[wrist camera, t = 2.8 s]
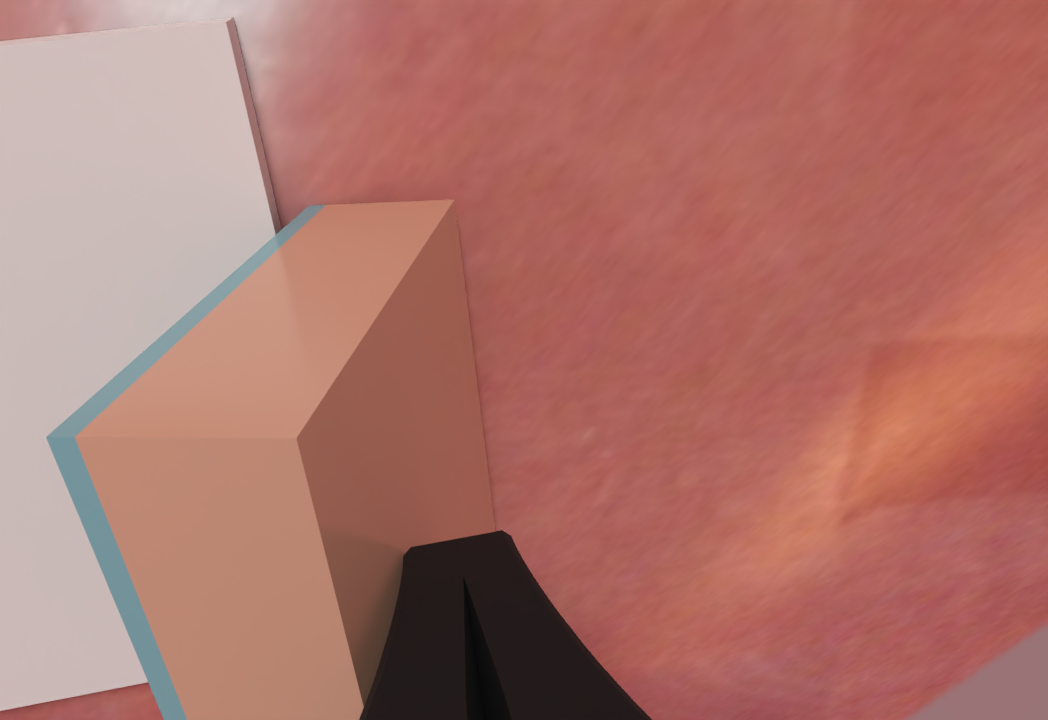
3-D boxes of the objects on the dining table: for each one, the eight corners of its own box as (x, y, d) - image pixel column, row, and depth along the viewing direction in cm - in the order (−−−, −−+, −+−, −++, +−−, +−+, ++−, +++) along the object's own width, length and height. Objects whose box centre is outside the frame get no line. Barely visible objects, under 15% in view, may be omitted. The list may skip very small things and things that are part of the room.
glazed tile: (454, 199, 14) (296, 437, 7) (500, 573, 17) (420, 934, 11) (308, 205, 14) (46, 437, 8) (385, 569, 18) (246, 918, 12)
